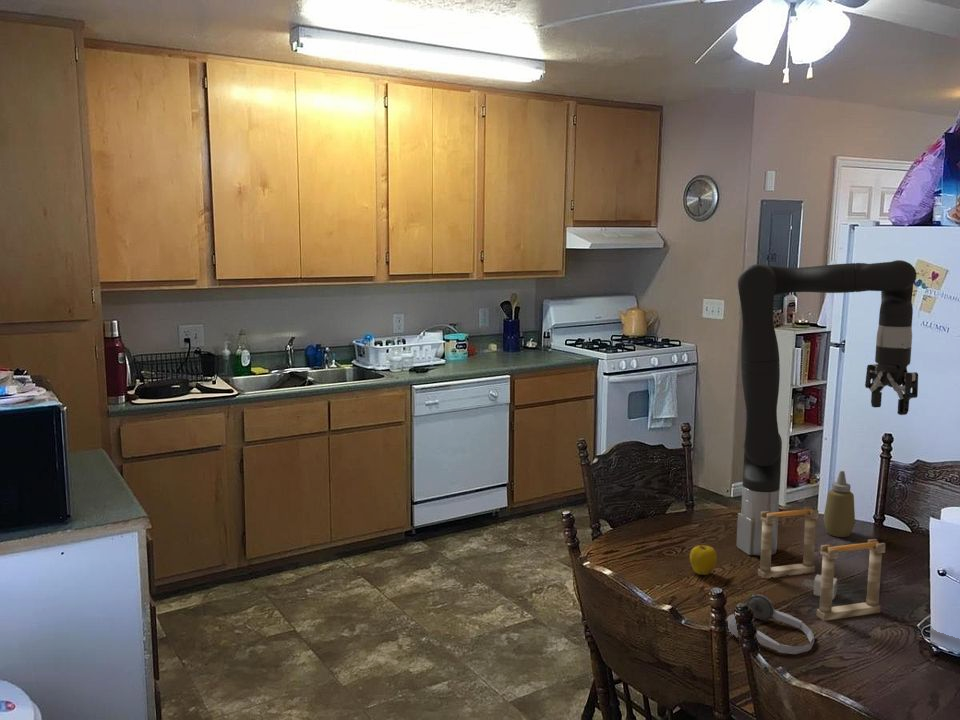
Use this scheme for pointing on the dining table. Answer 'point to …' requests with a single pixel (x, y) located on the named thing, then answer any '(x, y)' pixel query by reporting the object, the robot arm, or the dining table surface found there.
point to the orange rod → (854, 546)
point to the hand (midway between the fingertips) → (888, 410)
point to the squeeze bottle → (839, 508)
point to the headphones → (766, 611)
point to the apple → (703, 559)
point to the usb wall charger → (817, 585)
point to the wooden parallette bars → (827, 569)
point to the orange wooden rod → (790, 513)
